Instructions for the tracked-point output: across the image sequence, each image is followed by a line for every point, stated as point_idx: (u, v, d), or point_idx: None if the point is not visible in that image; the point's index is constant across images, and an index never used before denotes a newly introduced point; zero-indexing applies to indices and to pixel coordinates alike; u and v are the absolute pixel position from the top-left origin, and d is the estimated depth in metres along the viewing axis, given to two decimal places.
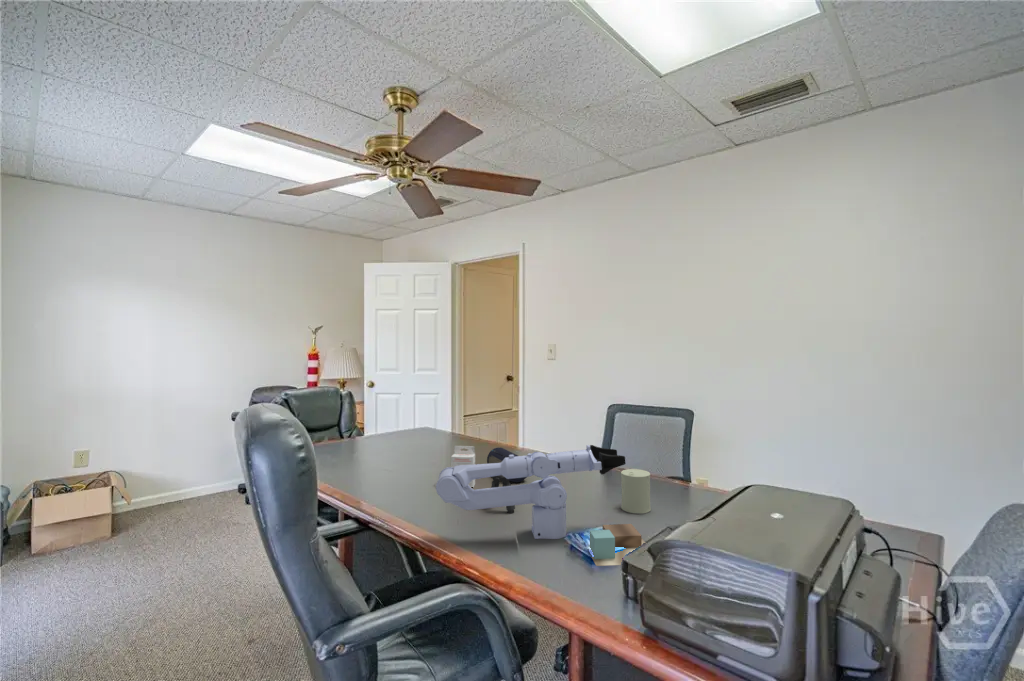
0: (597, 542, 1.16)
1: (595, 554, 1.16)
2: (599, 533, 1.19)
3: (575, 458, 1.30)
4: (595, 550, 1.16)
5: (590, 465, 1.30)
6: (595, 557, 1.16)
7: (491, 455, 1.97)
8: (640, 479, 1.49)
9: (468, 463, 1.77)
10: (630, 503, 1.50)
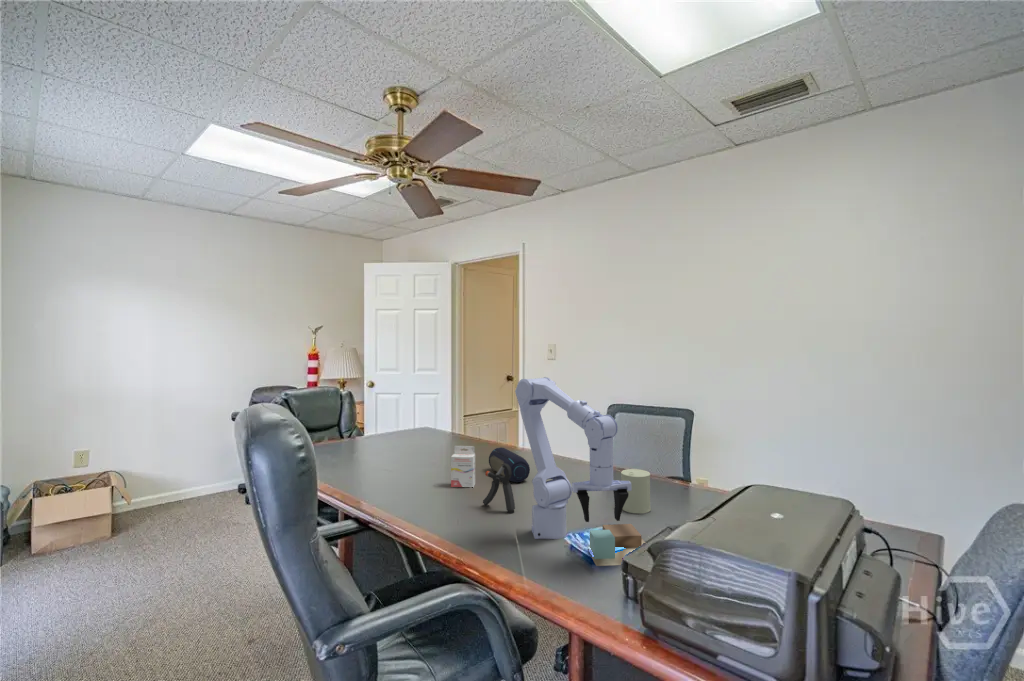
0: (597, 542, 1.16)
1: (595, 554, 1.16)
2: (599, 533, 1.19)
3: (592, 468, 1.17)
4: (595, 550, 1.16)
5: (589, 481, 1.19)
6: (595, 557, 1.16)
7: (492, 455, 1.97)
8: (640, 479, 1.49)
9: (468, 463, 1.77)
10: (630, 503, 1.50)
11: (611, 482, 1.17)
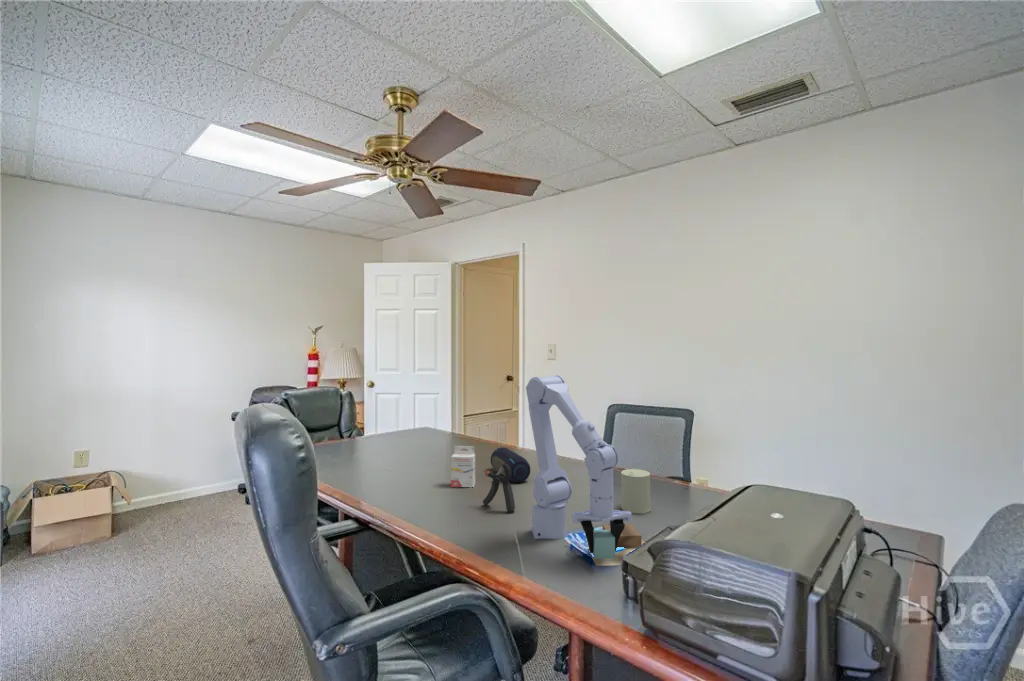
0: (597, 542, 1.16)
1: (595, 554, 1.16)
2: (599, 533, 1.19)
3: (593, 499, 1.17)
4: (595, 550, 1.16)
5: (590, 512, 1.19)
6: (595, 557, 1.16)
7: (494, 454, 1.97)
8: (640, 479, 1.49)
9: (468, 463, 1.77)
10: (630, 503, 1.50)
11: (611, 513, 1.17)
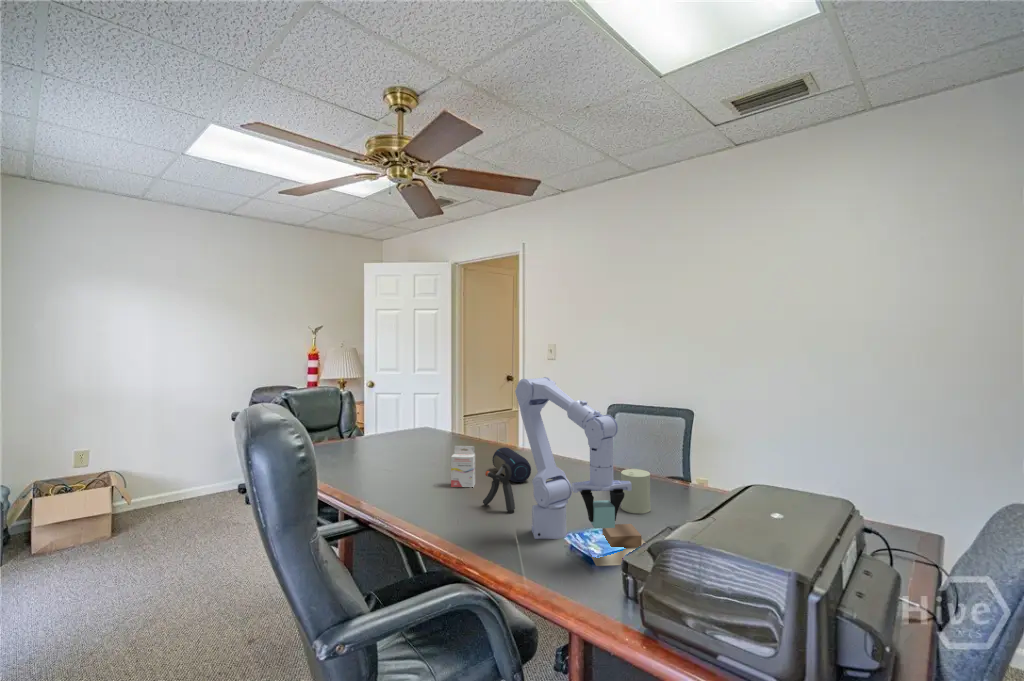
0: (597, 512, 1.16)
1: (595, 523, 1.16)
2: (599, 503, 1.19)
3: (593, 468, 1.17)
4: (595, 519, 1.16)
5: (589, 481, 1.19)
6: (595, 526, 1.16)
7: (496, 454, 1.97)
8: (640, 479, 1.49)
9: (468, 463, 1.77)
10: (630, 503, 1.50)
11: (611, 482, 1.17)
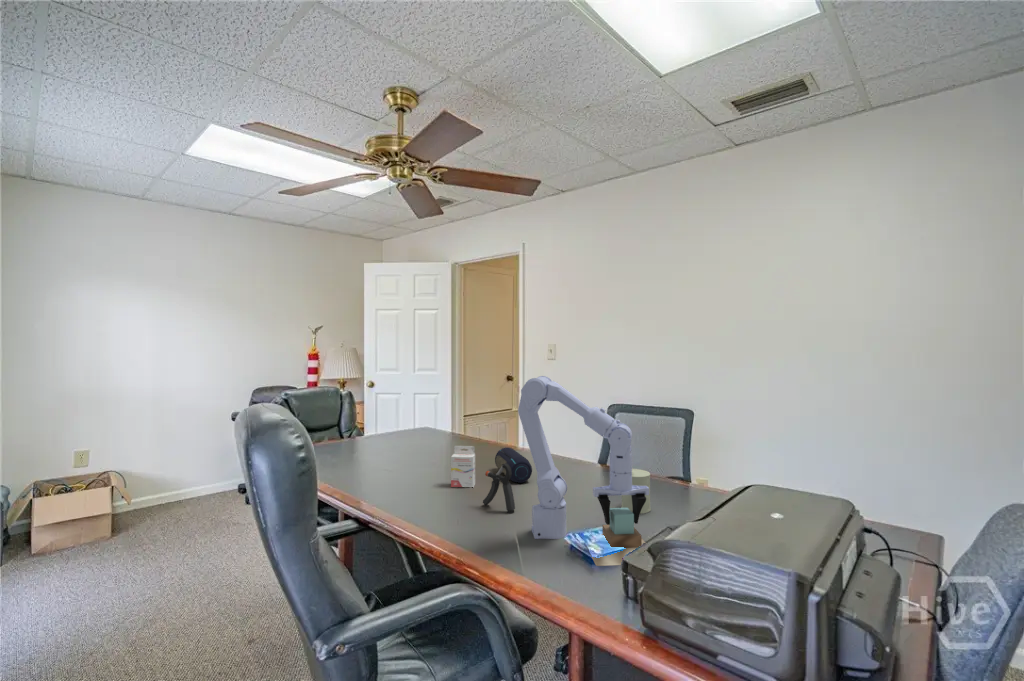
0: (617, 518, 1.23)
1: (615, 530, 1.23)
2: (618, 510, 1.26)
3: (613, 474, 1.25)
4: (615, 526, 1.23)
5: (609, 486, 1.27)
6: (615, 532, 1.23)
7: (498, 454, 1.97)
8: (640, 479, 1.49)
9: (468, 463, 1.77)
10: (630, 503, 1.50)
11: (630, 487, 1.24)
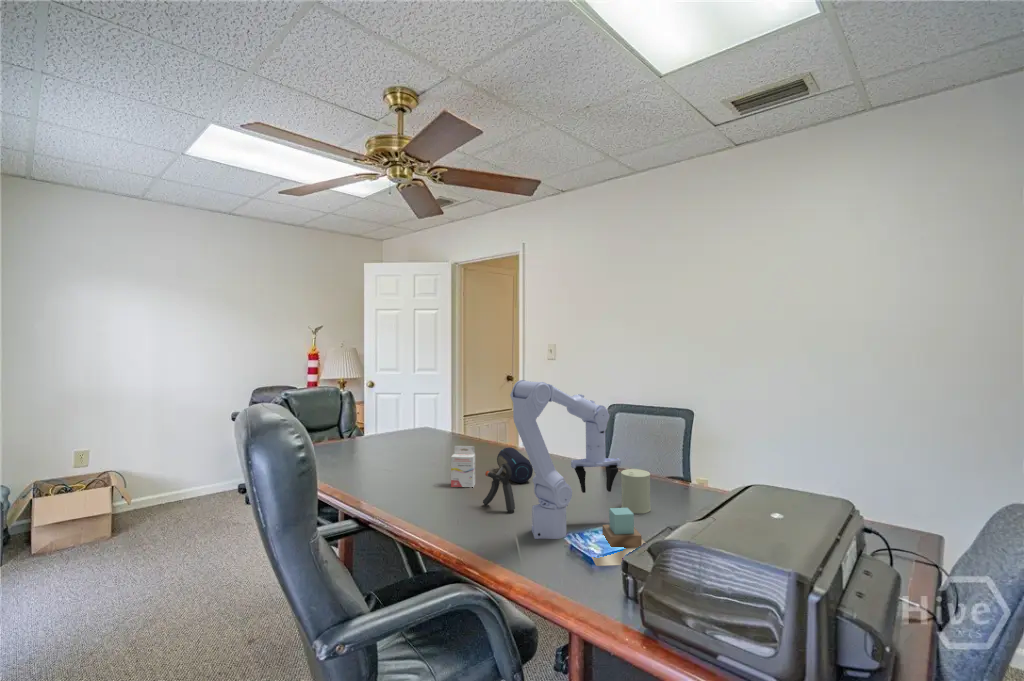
0: (617, 518, 1.23)
1: (615, 530, 1.23)
2: (618, 510, 1.26)
3: (588, 448, 1.40)
4: (615, 526, 1.23)
5: (585, 459, 1.42)
6: (615, 532, 1.23)
7: (500, 454, 1.98)
8: (640, 479, 1.49)
9: (468, 463, 1.77)
10: (630, 503, 1.50)
11: (604, 459, 1.40)
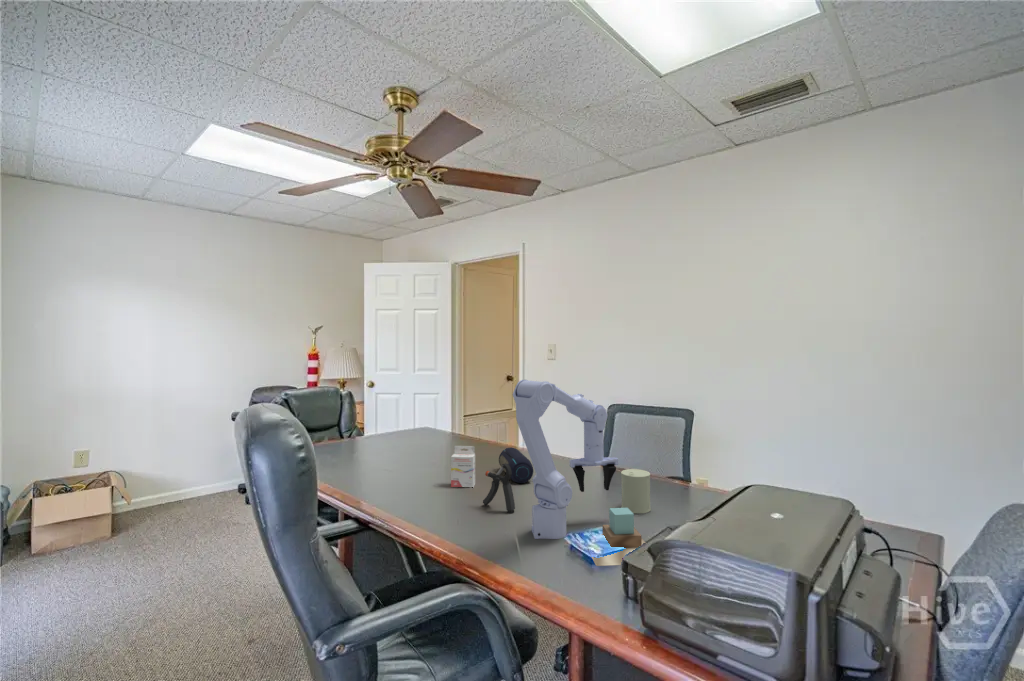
0: (617, 518, 1.23)
1: (615, 530, 1.23)
2: (618, 510, 1.26)
3: (587, 447, 1.41)
4: (615, 526, 1.23)
5: (584, 458, 1.43)
6: (615, 532, 1.23)
7: (501, 454, 1.98)
8: (640, 479, 1.49)
9: (468, 463, 1.77)
10: (630, 503, 1.50)
11: (602, 458, 1.41)
